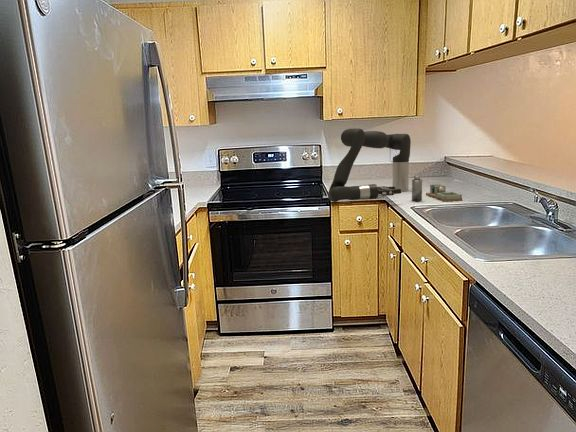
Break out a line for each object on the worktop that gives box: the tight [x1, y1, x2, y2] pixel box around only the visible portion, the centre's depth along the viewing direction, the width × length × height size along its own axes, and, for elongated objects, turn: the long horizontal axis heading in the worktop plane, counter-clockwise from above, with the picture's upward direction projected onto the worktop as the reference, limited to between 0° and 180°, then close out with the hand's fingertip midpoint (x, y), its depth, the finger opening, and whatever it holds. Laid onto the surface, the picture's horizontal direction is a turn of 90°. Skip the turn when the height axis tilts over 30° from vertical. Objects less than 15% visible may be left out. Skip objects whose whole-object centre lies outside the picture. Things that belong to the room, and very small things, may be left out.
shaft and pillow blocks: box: [429, 183, 446, 195], centre depth 243 cm, size 9×5×5 cm, turn 7°
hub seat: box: [437, 191, 463, 199], centre depth 232 cm, size 9×9×2 cm
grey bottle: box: [411, 175, 423, 203], centre depth 232 cm, size 5×5×13 cm
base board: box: [425, 192, 463, 203], centre depth 238 cm, size 21×10×1 cm, turn 8°
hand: (397, 189), depth 231 cm, fingers open, 8 cm apart
